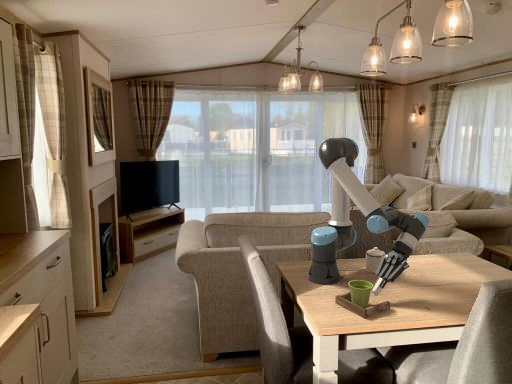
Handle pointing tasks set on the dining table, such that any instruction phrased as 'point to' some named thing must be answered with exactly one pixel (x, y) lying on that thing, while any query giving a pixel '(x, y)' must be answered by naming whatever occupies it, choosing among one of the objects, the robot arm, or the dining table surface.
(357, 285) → the plant pot
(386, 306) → the walnut bay
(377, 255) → the teacup with lid
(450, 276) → the dining table surface
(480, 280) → the dining table surface
